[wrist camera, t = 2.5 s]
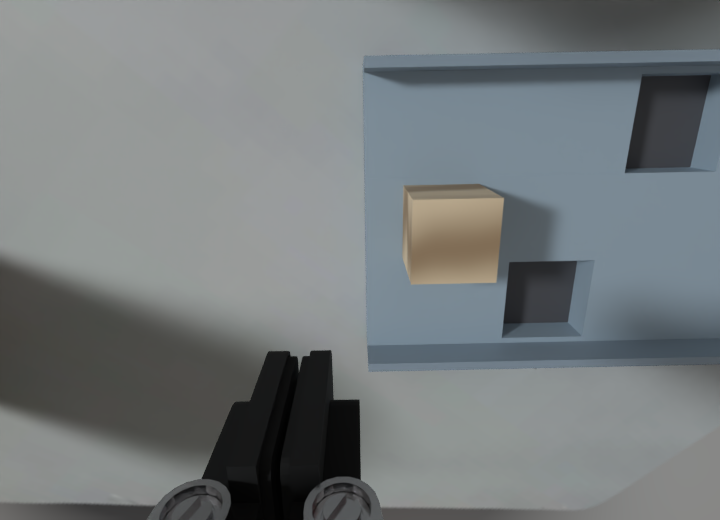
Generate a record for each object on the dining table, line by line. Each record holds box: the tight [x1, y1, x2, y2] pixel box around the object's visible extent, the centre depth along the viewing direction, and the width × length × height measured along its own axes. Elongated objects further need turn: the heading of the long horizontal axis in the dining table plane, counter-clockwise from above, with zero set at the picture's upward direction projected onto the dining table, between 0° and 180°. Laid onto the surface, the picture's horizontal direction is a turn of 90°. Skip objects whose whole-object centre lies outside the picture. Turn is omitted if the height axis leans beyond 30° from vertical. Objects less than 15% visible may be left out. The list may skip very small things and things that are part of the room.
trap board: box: [363, 49, 720, 372], centre depth 29 cm, size 20×32×5 cm, turn 91°
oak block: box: [402, 184, 504, 285], centre depth 27 cm, size 5×5×5 cm
